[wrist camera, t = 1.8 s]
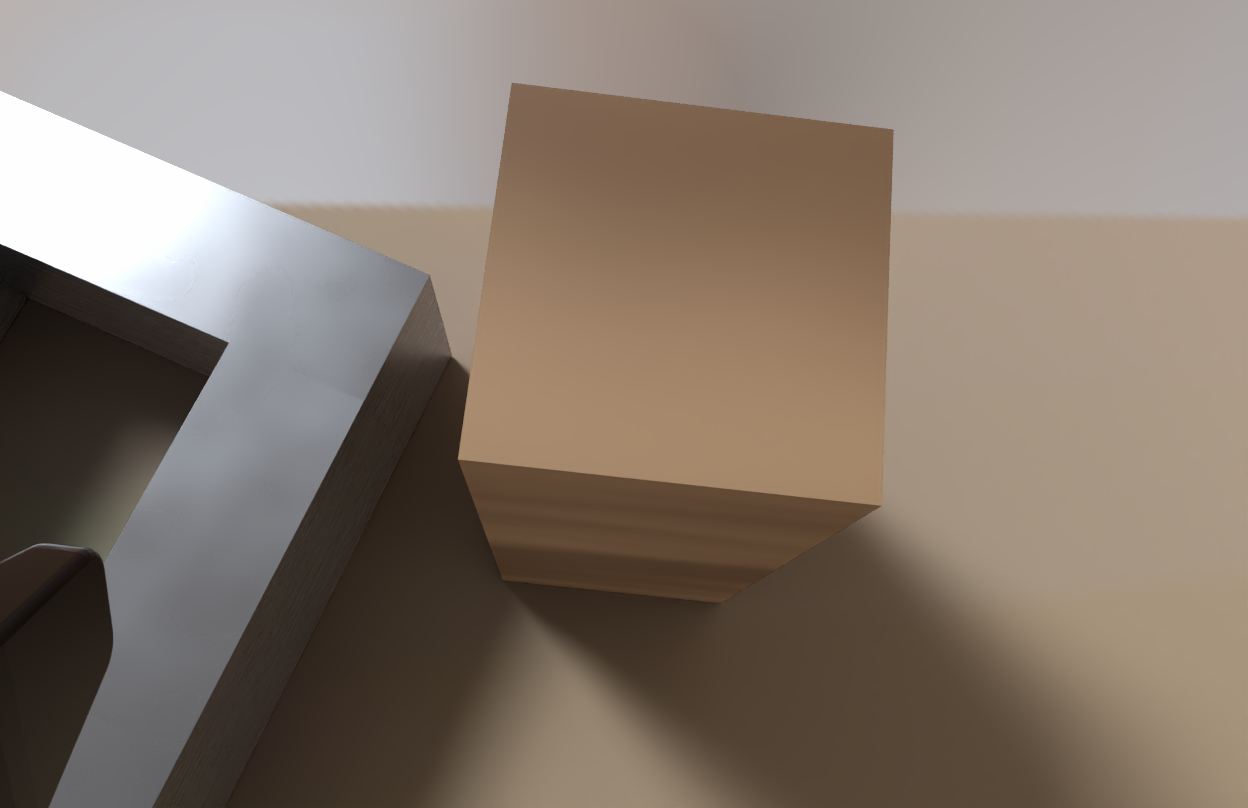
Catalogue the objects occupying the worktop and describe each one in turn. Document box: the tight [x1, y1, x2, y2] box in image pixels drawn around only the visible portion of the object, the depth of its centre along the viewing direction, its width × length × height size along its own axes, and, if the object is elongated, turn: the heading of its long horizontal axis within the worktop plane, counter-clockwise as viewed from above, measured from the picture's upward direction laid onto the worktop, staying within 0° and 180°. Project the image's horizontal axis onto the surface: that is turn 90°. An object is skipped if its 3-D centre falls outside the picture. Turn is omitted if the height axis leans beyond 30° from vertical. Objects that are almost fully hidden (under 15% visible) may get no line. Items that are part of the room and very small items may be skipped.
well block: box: [0, 92, 452, 808], centre depth 18 cm, size 10×10×4 cm
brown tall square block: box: [458, 83, 893, 603], centre depth 15 cm, size 4×4×10 cm
